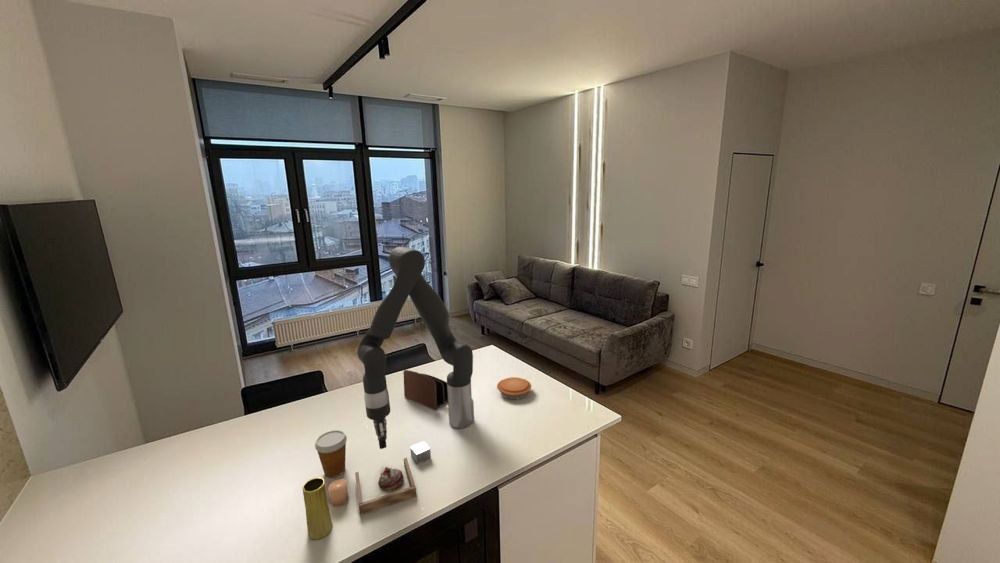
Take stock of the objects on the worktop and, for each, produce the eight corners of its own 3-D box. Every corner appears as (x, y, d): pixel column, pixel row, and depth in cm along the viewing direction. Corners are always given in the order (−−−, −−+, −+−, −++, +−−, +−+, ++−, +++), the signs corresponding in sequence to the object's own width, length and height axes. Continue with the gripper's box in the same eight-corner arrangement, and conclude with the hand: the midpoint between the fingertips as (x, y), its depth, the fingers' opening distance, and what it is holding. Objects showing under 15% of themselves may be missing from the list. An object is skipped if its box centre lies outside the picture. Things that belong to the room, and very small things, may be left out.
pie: (532, 401, 162) (532, 391, 161) (496, 402, 163) (496, 391, 161) (530, 384, 177) (530, 374, 176) (497, 384, 178) (497, 375, 177)
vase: (313, 521, 104) (306, 476, 101) (336, 519, 104) (329, 475, 101) (303, 540, 98) (296, 494, 95) (328, 538, 98) (321, 492, 95)
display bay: (407, 465, 125) (406, 457, 124) (416, 496, 112) (415, 487, 111) (356, 480, 119) (355, 472, 118) (359, 515, 106) (358, 506, 105)
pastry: (374, 481, 118) (372, 467, 117) (396, 470, 123) (395, 456, 122) (385, 496, 113) (384, 481, 111) (408, 483, 117) (407, 469, 116)
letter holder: (436, 411, 157) (434, 380, 154) (404, 397, 168) (401, 368, 165) (452, 400, 165) (450, 370, 162) (420, 388, 176) (418, 360, 173)
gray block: (424, 451, 132) (423, 441, 131) (430, 458, 128) (430, 448, 127) (411, 457, 129) (410, 446, 128) (417, 465, 125) (416, 454, 124)
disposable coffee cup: (339, 483, 118) (334, 449, 115) (312, 479, 120) (307, 446, 117) (356, 462, 127) (352, 430, 124) (331, 459, 129) (326, 427, 126)
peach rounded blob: (348, 491, 114) (346, 477, 113) (349, 503, 110) (347, 488, 109) (330, 496, 112) (328, 482, 111) (330, 509, 108) (328, 494, 107)
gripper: (392, 408, 119) (397, 455, 123) (386, 389, 130) (391, 432, 134) (367, 414, 116) (373, 463, 120) (363, 394, 127) (369, 439, 132)
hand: (383, 447), depth 127 cm, fingers closed
